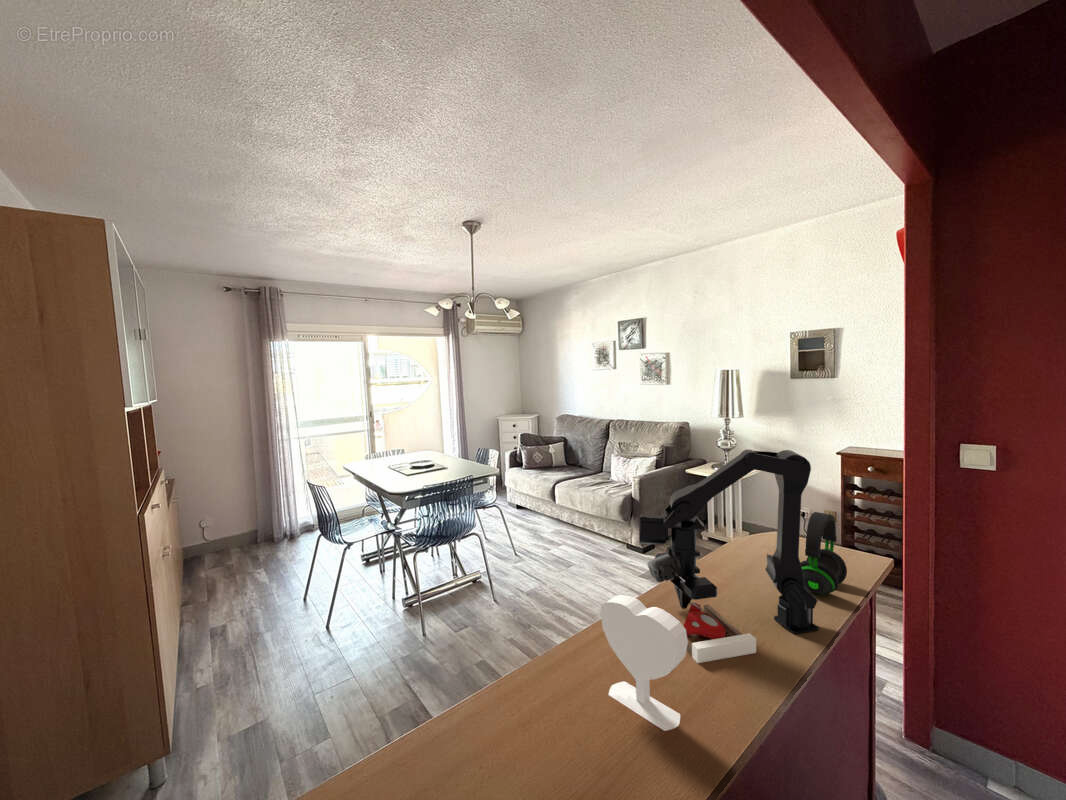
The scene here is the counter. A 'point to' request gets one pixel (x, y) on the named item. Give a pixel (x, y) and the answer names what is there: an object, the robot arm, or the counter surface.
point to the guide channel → (722, 642)
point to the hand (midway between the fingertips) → (683, 608)
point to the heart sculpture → (644, 653)
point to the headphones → (822, 556)
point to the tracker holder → (702, 624)
